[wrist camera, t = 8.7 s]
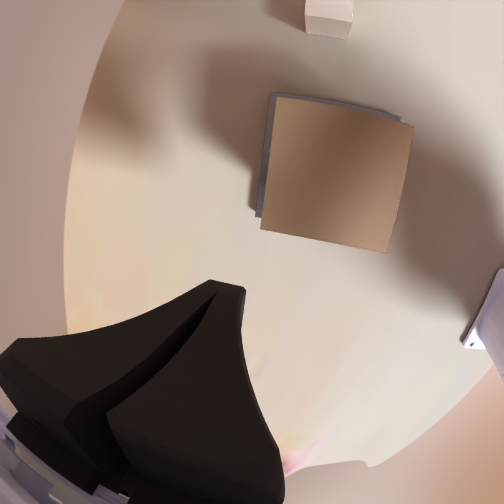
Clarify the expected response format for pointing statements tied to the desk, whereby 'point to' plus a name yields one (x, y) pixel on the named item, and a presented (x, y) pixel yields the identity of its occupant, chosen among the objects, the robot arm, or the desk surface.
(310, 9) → the off-white cube
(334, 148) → the brown rectangular block
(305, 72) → the desk surface
